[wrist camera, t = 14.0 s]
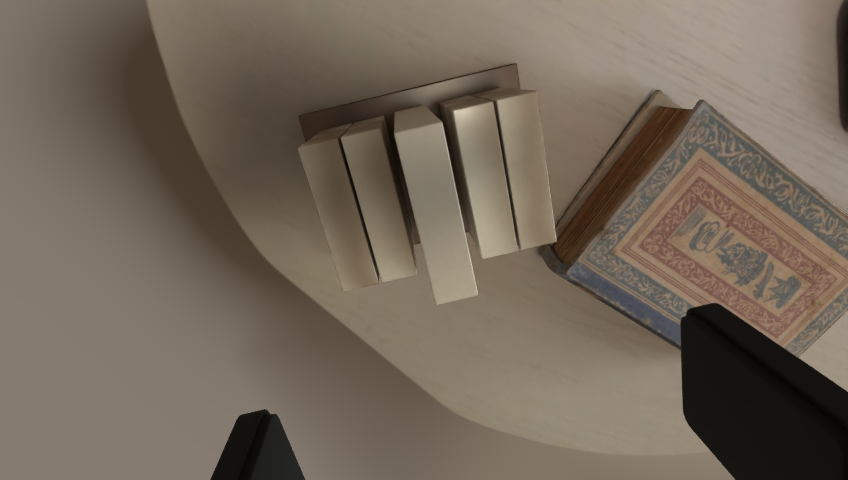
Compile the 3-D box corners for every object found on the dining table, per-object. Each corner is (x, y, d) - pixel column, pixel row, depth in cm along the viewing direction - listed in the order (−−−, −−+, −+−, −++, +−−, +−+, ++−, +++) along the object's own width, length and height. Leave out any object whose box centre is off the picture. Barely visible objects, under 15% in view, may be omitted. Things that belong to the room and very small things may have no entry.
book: (703, 92, 32) (913, 262, 38) (653, 89, 38) (840, 235, 44) (554, 279, 37) (763, 406, 42) (531, 249, 43) (716, 363, 49)
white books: (344, 257, 42) (327, 315, 32) (300, 115, 38) (264, 129, 27) (535, 212, 42) (582, 257, 31) (513, 63, 37) (559, 58, 27)
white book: (421, 225, 40) (435, 305, 26) (394, 112, 37) (393, 132, 23) (449, 219, 40) (478, 295, 26) (424, 104, 37) (442, 121, 23)
